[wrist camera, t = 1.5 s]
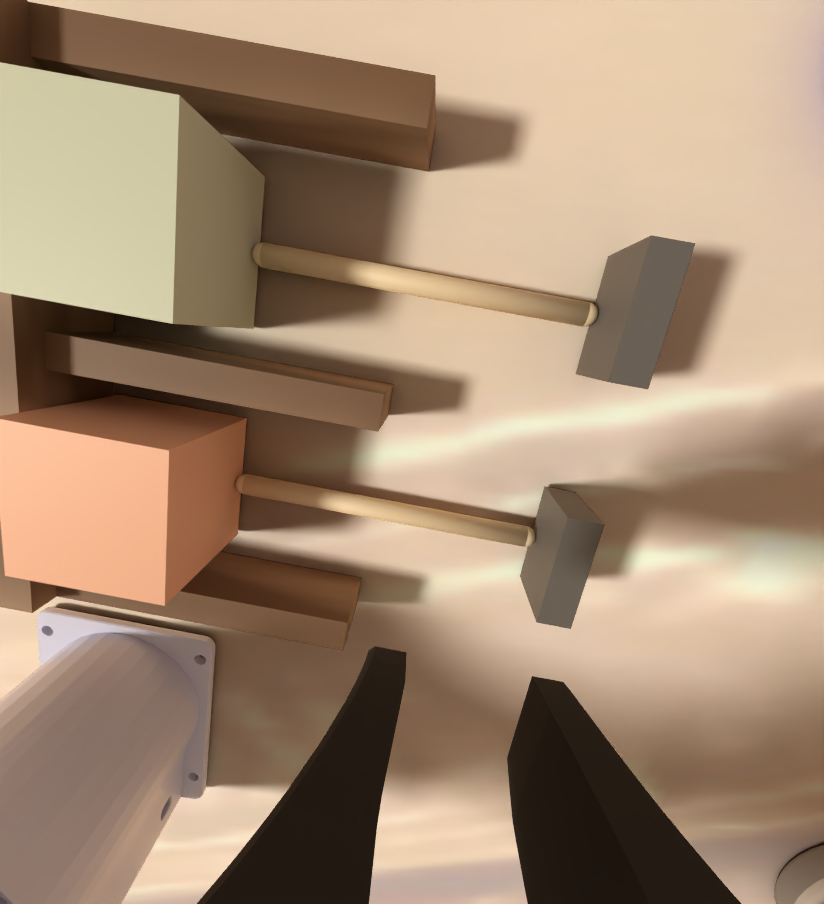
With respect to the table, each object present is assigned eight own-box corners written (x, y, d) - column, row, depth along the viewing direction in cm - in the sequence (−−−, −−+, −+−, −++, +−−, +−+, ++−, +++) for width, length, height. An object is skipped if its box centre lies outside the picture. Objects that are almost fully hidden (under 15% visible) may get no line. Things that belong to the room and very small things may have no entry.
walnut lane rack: (357, 602, 19) (336, 670, 15) (88, 551, 19) (-2, 606, 15) (435, 130, 14) (435, 50, 10) (76, 65, 14) (-60, -40, 10)
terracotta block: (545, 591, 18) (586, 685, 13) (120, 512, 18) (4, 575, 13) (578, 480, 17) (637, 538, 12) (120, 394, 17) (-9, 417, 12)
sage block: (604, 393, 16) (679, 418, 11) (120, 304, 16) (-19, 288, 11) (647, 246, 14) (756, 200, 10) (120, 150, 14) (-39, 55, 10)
